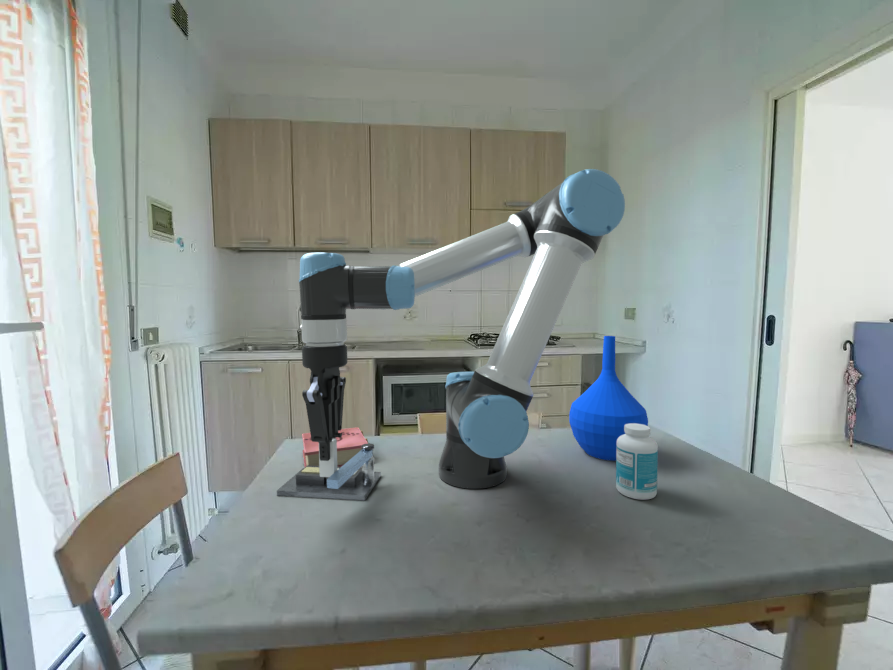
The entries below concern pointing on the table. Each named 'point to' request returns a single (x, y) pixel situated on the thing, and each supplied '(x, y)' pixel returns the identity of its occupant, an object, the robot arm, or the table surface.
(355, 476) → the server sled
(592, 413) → the vase
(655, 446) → the pill bottle
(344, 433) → the book
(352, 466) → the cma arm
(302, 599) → the table surface
